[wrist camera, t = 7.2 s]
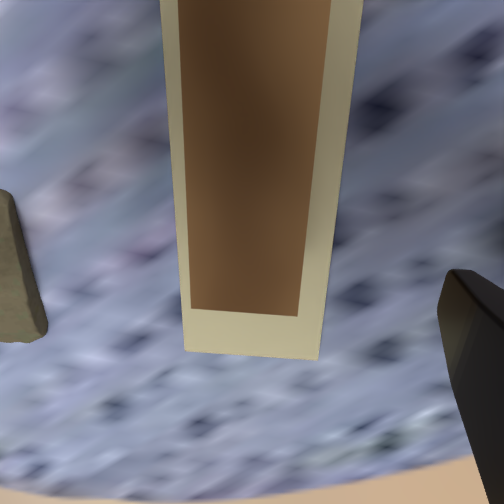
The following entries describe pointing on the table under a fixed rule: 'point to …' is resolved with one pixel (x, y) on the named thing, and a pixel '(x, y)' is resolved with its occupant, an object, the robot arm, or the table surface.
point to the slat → (249, 146)
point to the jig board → (320, 209)
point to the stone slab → (17, 282)
